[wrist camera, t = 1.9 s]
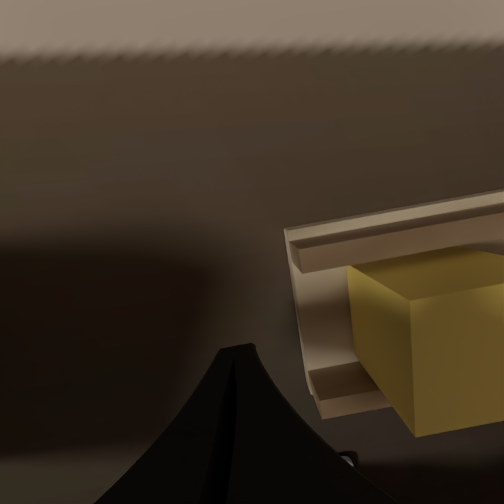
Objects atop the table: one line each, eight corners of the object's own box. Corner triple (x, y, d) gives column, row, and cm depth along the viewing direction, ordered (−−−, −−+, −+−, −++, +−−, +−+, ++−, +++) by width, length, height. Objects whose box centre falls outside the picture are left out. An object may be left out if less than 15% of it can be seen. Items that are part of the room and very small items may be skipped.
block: (449, 337, 13) (559, 409, 8) (354, 355, 13) (415, 437, 8) (448, 244, 12) (574, 270, 7) (345, 263, 12) (409, 300, 7)
